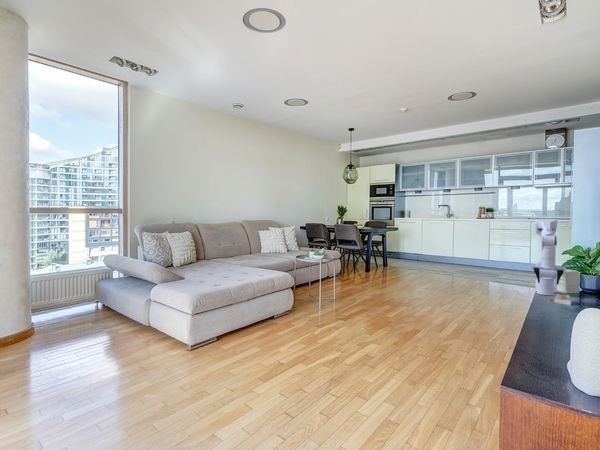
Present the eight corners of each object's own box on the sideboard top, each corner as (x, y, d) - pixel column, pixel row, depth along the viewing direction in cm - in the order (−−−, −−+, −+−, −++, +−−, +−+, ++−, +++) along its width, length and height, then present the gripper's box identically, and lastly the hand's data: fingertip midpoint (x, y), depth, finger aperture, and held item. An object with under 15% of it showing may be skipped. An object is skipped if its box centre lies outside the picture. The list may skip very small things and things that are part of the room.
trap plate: (547, 301, 163) (547, 301, 163) (548, 299, 168) (548, 298, 168) (554, 302, 161) (554, 302, 161) (554, 299, 166) (554, 299, 166)
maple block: (556, 302, 161) (556, 295, 161) (556, 301, 164) (557, 293, 164) (569, 304, 158) (569, 296, 158) (569, 302, 161) (569, 295, 161)
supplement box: (569, 290, 185) (570, 269, 184) (579, 293, 177) (580, 271, 177) (556, 290, 185) (556, 269, 185) (565, 293, 178) (566, 271, 178)
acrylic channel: (554, 302, 161) (554, 298, 161) (555, 299, 166) (555, 296, 166) (570, 305, 157) (570, 301, 156) (571, 302, 161) (571, 298, 161)
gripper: (530, 257, 165) (530, 282, 166) (566, 260, 156) (566, 286, 156) (531, 256, 171) (531, 280, 171) (566, 258, 161) (565, 284, 162)
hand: (547, 283), depth 164 cm, fingers open, 7 cm apart
